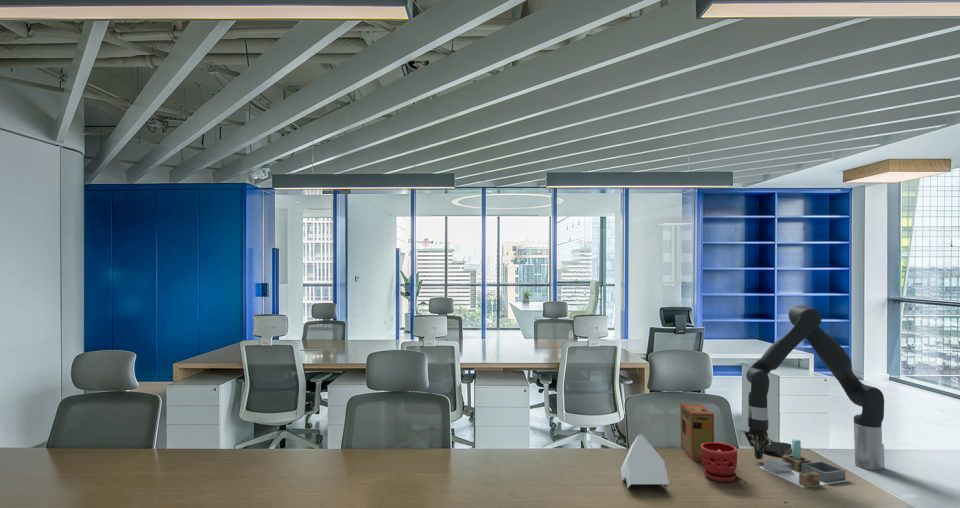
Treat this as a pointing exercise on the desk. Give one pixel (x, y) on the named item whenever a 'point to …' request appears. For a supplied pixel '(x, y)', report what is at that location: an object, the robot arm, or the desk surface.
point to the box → (695, 429)
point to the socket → (795, 462)
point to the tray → (824, 471)
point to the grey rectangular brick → (777, 466)
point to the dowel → (796, 449)
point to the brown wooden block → (809, 479)
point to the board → (797, 477)
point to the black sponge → (778, 449)
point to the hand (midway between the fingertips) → (758, 458)
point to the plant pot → (719, 461)
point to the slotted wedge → (643, 465)
